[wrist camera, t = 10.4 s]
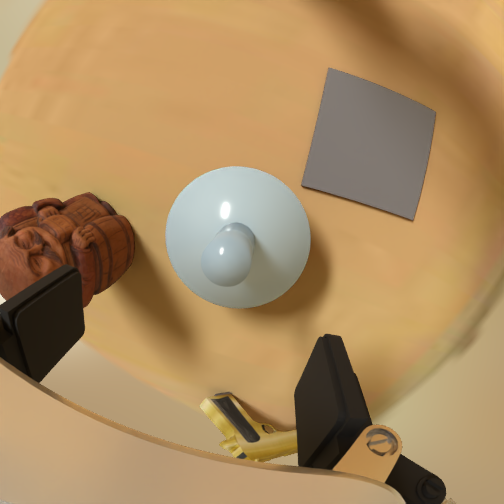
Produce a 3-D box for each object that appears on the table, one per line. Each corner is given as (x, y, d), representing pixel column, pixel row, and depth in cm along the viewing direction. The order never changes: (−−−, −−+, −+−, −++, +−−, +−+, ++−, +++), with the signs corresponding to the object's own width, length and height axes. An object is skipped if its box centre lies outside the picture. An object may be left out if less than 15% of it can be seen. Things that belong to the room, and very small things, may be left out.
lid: (183, 154, 24) (152, 149, 17) (325, 187, 24) (346, 193, 17) (161, 285, 28) (132, 318, 21) (287, 316, 28) (291, 359, 21)
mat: (328, 68, 25) (329, 67, 25) (434, 112, 25) (435, 111, 25) (301, 185, 29) (301, 185, 29) (411, 219, 29) (413, 220, 29)
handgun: (203, 391, 35) (235, 465, 26) (296, 388, 46) (330, 439, 37) (197, 400, 36) (226, 471, 27) (289, 396, 47) (321, 446, 38)
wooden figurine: (151, 238, 32) (53, 304, 15) (127, 276, 34) (38, 353, 16) (87, 181, 30) (-26, 201, 13) (67, 219, 32) (-35, 259, 15)
